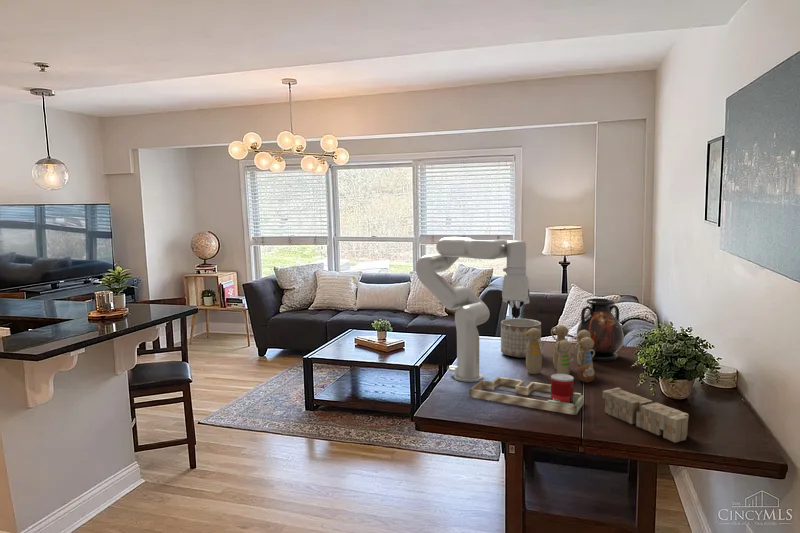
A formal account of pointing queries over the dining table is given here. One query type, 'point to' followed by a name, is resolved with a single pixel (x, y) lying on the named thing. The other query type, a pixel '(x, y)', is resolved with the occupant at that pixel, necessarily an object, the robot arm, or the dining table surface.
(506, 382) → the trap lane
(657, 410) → the block tower
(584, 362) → the bowling set
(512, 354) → the planter
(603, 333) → the amphora vase
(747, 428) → the dining table surface
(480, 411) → the dining table surface
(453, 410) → the dining table surface
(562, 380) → the canned food
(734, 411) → the dining table surface
